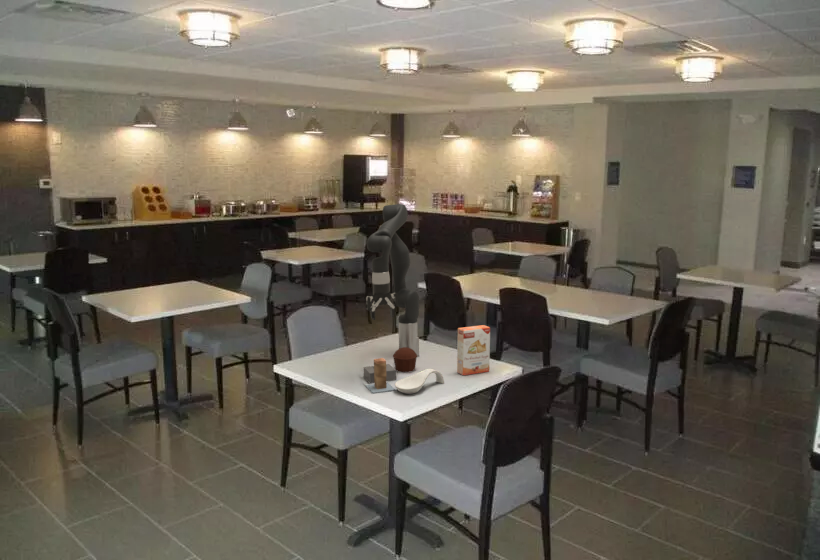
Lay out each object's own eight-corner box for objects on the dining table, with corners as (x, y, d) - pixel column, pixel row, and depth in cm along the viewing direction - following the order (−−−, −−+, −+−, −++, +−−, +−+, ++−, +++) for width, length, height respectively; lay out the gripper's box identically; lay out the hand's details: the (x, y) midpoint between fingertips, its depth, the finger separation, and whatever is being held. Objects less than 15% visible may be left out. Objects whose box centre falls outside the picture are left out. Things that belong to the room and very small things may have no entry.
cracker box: (463, 376, 290) (463, 330, 287) (456, 372, 296) (456, 327, 292) (490, 371, 296) (490, 327, 293) (483, 368, 302) (483, 324, 298)
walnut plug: (383, 385, 278) (382, 357, 276) (386, 388, 274) (386, 360, 272) (374, 386, 277) (373, 359, 275) (377, 389, 273) (377, 361, 271)
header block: (388, 373, 296) (388, 363, 295) (396, 379, 286) (396, 370, 286) (363, 376, 291) (363, 366, 291) (370, 383, 282) (369, 373, 281)
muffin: (392, 366, 307) (392, 345, 305) (415, 365, 308) (415, 344, 306) (394, 373, 295) (393, 352, 293) (418, 372, 296) (418, 351, 294)
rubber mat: (387, 383, 282) (387, 382, 282) (395, 390, 273) (395, 389, 272) (365, 386, 278) (365, 385, 278) (372, 393, 269) (372, 392, 269)
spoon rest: (407, 398, 263) (407, 381, 262) (389, 391, 272) (389, 375, 271) (449, 385, 279) (449, 369, 277) (431, 379, 287) (431, 363, 286)
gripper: (393, 278, 289) (394, 314, 292) (362, 282, 284) (364, 318, 287) (399, 281, 282) (401, 317, 285) (368, 285, 277) (370, 322, 280)
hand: (382, 317), depth 286 cm, fingers open, 8 cm apart
